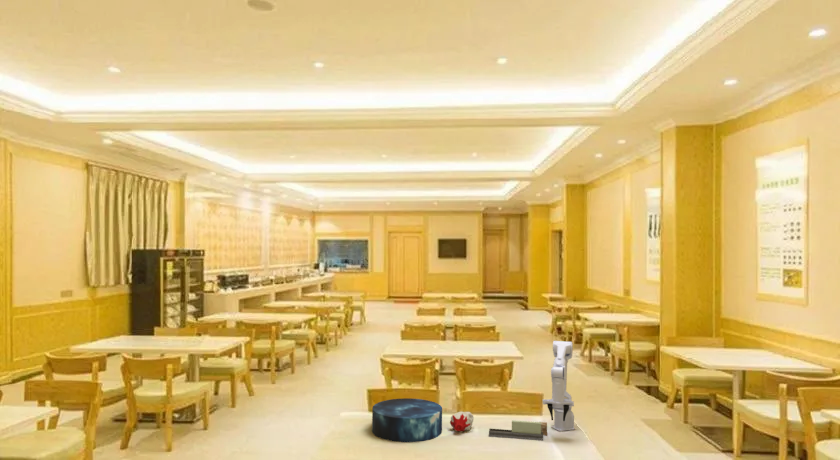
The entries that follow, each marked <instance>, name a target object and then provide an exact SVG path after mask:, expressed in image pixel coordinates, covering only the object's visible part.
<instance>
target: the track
mask: <svg viewBox="0 0 840 460" xmlns="http://www.w3.org/2000/svg"><path fill="white" fill-rule="evenodd" d="M488 437H491V438H502V439H503V438H504V439H505V438H506V439H516V440H517V439H519V440H531V441H544V435H543V432H541V434H530V433H516V432H512V429H501V428H489V430H488Z"/></svg>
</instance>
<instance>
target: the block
mask: <svg viewBox="0 0 840 460" xmlns="http://www.w3.org/2000/svg"><path fill="white" fill-rule="evenodd" d="M540 422H541V432H543V436H547V437H548V422H545V421H544V422H543V421H540Z"/></svg>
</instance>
